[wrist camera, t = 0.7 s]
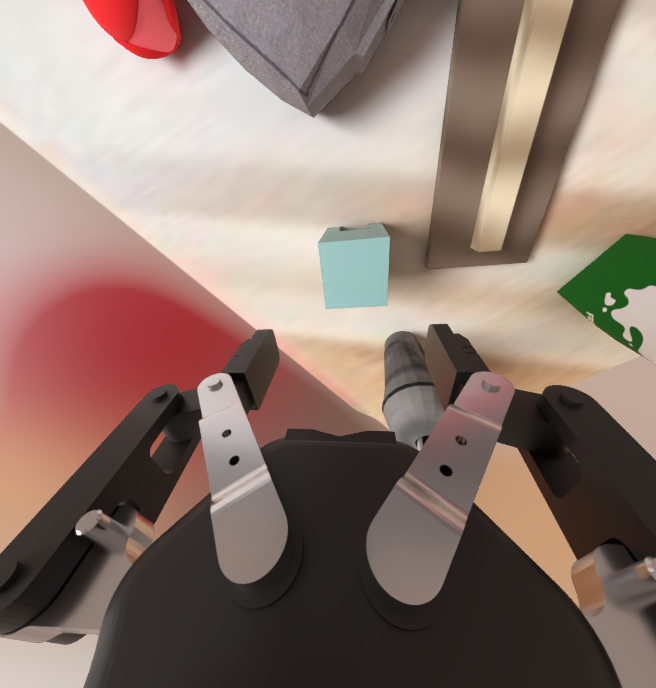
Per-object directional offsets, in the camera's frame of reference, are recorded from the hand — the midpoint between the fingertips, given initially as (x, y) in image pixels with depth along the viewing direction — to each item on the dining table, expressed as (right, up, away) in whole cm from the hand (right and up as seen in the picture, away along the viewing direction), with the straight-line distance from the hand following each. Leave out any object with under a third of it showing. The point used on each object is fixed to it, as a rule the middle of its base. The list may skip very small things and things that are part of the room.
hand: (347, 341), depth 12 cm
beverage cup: (+9, 0, +21) cm, 23 cm away
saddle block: (+2, +10, +15) cm, 18 cm away
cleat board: (+14, +17, +9) cm, 24 cm away
